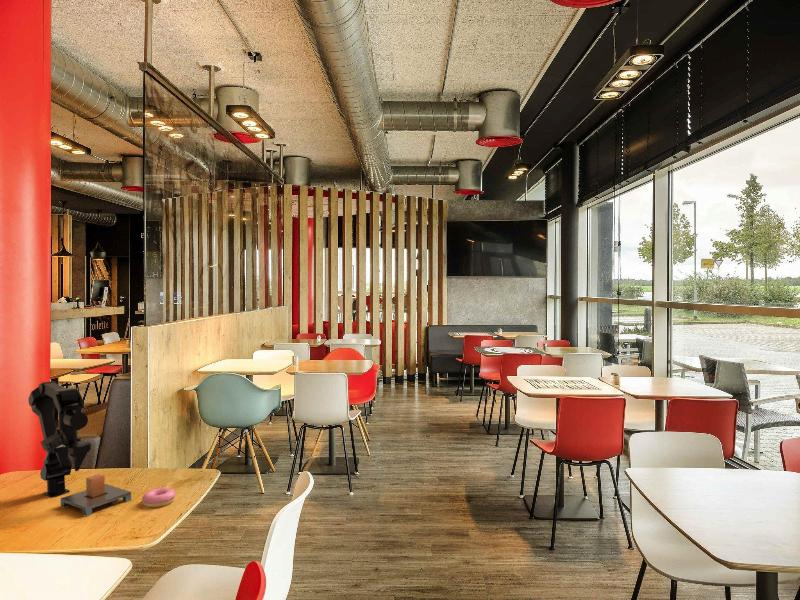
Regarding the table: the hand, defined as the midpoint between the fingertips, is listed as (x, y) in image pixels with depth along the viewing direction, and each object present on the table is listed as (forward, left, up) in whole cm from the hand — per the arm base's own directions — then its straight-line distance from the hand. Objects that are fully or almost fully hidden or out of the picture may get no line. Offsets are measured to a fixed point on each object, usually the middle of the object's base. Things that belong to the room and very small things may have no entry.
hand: (69, 468), depth 200 cm
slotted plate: (+9, +4, -12) cm, 16 cm away
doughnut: (+28, +16, -12) cm, 34 cm away
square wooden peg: (+9, +4, -12) cm, 15 cm away
